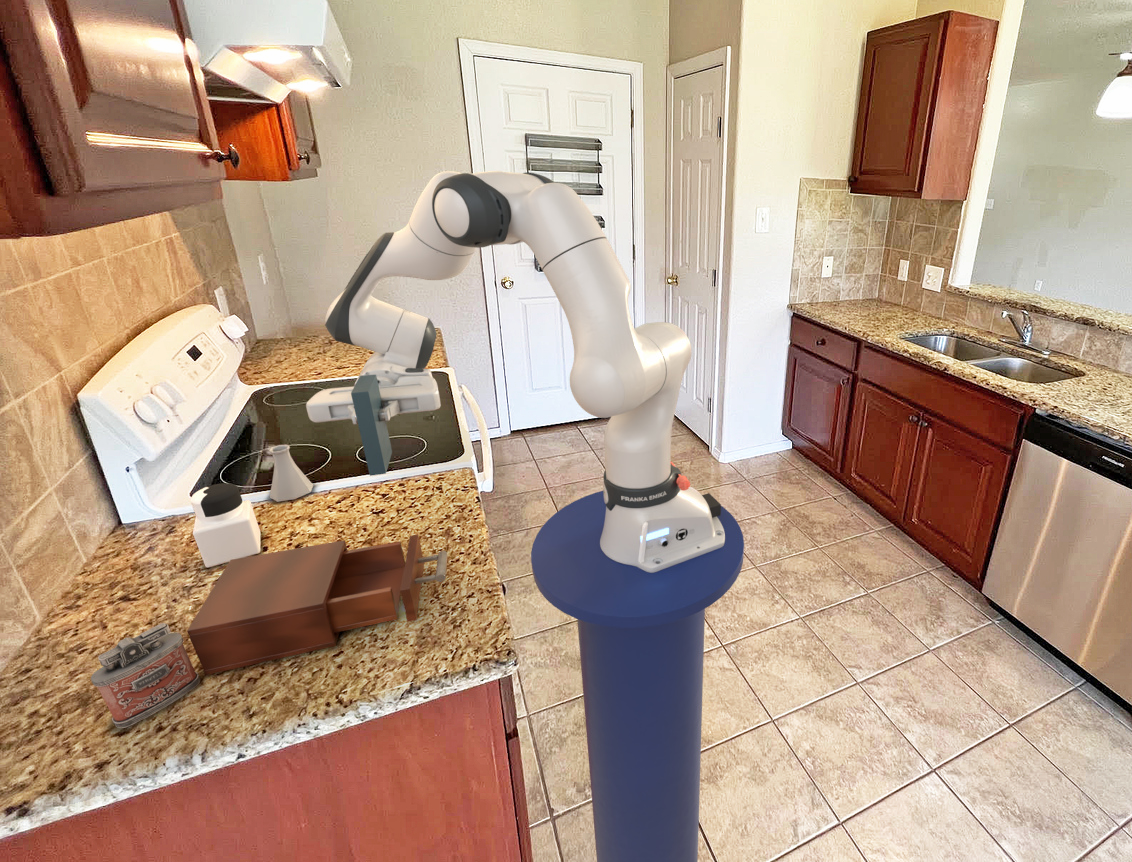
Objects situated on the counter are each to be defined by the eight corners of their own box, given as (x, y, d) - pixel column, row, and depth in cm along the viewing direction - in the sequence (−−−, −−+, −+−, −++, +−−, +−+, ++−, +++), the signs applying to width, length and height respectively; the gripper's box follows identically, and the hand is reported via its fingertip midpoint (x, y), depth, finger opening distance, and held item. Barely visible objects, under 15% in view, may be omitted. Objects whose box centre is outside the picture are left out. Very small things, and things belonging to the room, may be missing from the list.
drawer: (451, 557, 96) (446, 529, 94) (448, 612, 84) (442, 581, 82) (329, 581, 90) (320, 551, 88) (307, 644, 78) (296, 611, 76)
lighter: (121, 733, 67) (88, 670, 63) (109, 719, 68) (76, 657, 64) (205, 683, 73) (180, 623, 69) (193, 671, 75) (167, 612, 71)
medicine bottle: (261, 532, 102) (241, 474, 97) (260, 553, 97) (240, 493, 92) (209, 546, 98) (186, 486, 93) (206, 569, 93) (181, 506, 88)
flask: (272, 506, 109) (258, 460, 106) (267, 490, 114) (253, 446, 110) (317, 493, 114) (305, 449, 110) (310, 479, 119) (298, 436, 115)
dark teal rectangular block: (392, 452, 103) (376, 374, 97) (386, 473, 96) (368, 391, 90) (377, 454, 102) (359, 375, 96) (369, 475, 95) (350, 393, 89)
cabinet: (355, 578, 92) (345, 540, 89) (335, 646, 79) (323, 603, 76) (245, 600, 87) (230, 559, 84) (205, 675, 74) (186, 630, 71)
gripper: (313, 378, 101) (291, 408, 90) (439, 368, 109) (434, 394, 97) (321, 410, 104) (301, 444, 92) (444, 398, 111) (440, 428, 99)
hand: (370, 418), depth 94 cm, fingers closed on dark teal rectangular block, 2 cm apart
